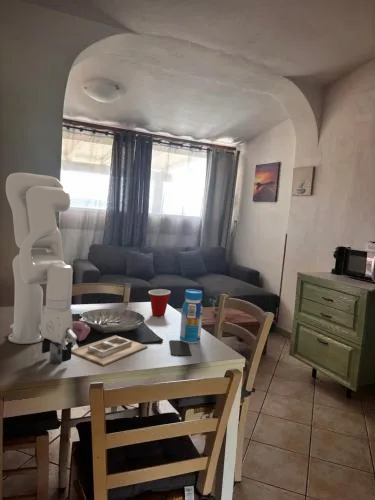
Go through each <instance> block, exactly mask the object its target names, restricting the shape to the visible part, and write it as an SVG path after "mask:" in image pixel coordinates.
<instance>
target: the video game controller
mask: <svg viewBox="0 0 375 500" xmlns="http://www.w3.org/2000/svg"><path fill="white" fill-rule="evenodd" d="M72 323H73V328H72V332H73V333H74V334H75V335H76V336H77V340H78V342H80V341H81V342H83V341H84V340H85V339H86V338H87V337H88V335H89V334H90V332H91V327H90V326H89V325H88V324H87V323H85V322H83V321H73V320H72ZM82 340H83V341H82Z"/></svg>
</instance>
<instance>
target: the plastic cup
mask: <svg viewBox="0 0 375 500" xmlns="http://www.w3.org/2000/svg"><path fill="white" fill-rule="evenodd" d="M148 294H149V298H150V307H151V315H152V317H157V318H162V317H165V314H166V311H167V307H168V303H169V299H170V294H171V290H168V289H163V288H159V289H158V288H157V289H151V290H149V291H148Z"/></svg>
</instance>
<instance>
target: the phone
mask: <svg viewBox="0 0 375 500" xmlns="http://www.w3.org/2000/svg"><path fill="white" fill-rule="evenodd" d="M168 343H169V351H170V355H171V356H172V357H185V356H190V357H192V355H193V354H192V351H191V348H190V347H191V346H190V343H186V342H183V341H181V340H180V339H179V340H177V339H176V340H175V339H172V340H169V341H168Z"/></svg>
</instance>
